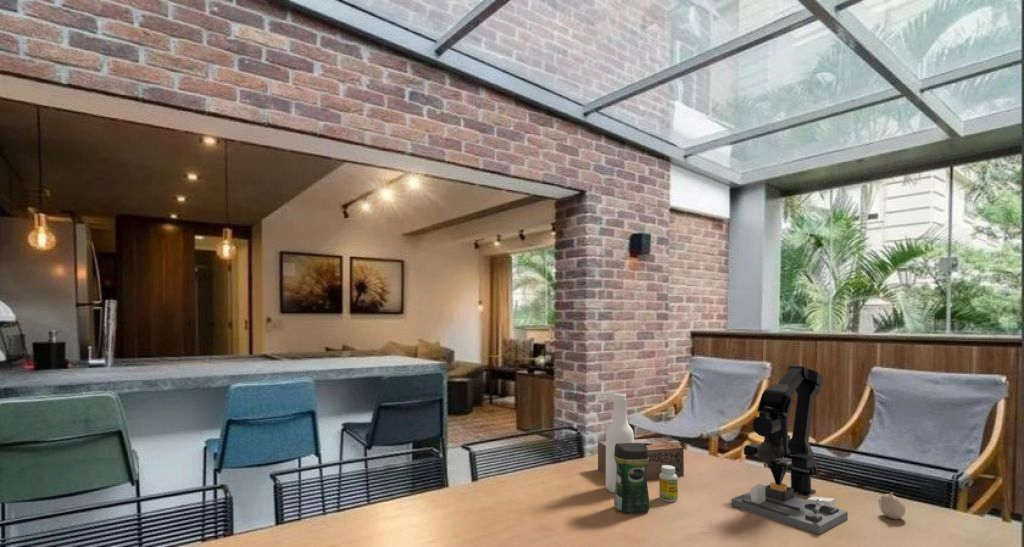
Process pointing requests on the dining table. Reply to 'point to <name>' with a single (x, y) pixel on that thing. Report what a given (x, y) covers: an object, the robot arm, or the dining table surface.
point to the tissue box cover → (652, 456)
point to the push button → (778, 486)
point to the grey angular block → (758, 493)
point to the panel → (792, 510)
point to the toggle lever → (818, 505)
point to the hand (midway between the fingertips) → (778, 484)
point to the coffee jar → (631, 478)
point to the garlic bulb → (891, 506)
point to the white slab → (826, 500)
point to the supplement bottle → (668, 484)
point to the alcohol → (616, 438)
